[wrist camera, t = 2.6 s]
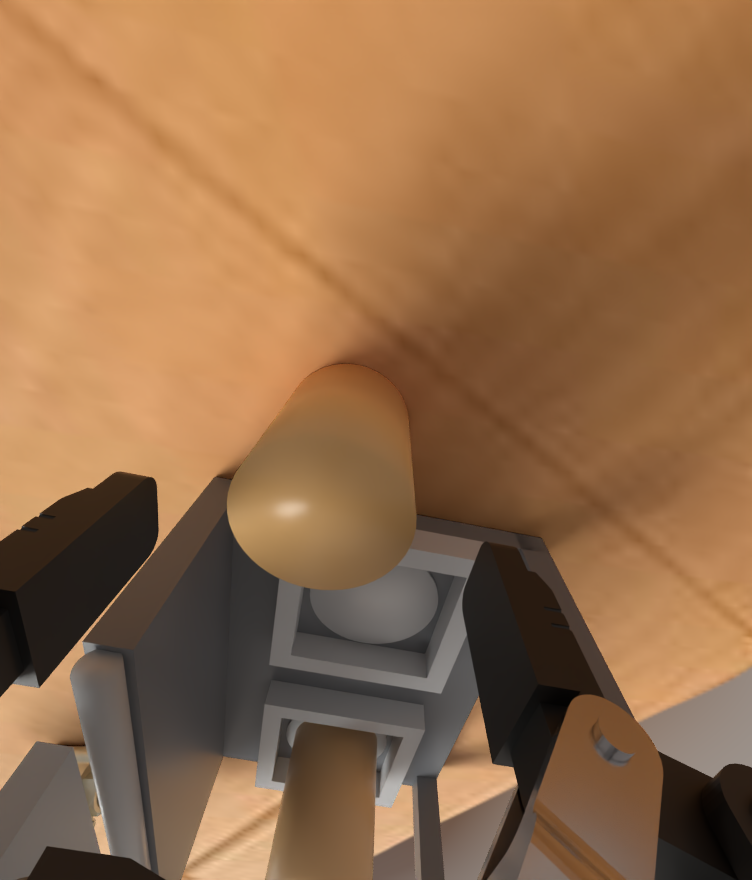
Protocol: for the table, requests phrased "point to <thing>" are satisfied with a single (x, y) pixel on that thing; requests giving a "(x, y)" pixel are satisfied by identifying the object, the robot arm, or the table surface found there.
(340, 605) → the housing
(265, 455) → the beige rounded cylinder
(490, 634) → the robot arm
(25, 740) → the table surface
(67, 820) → the lid
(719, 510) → the table surface
